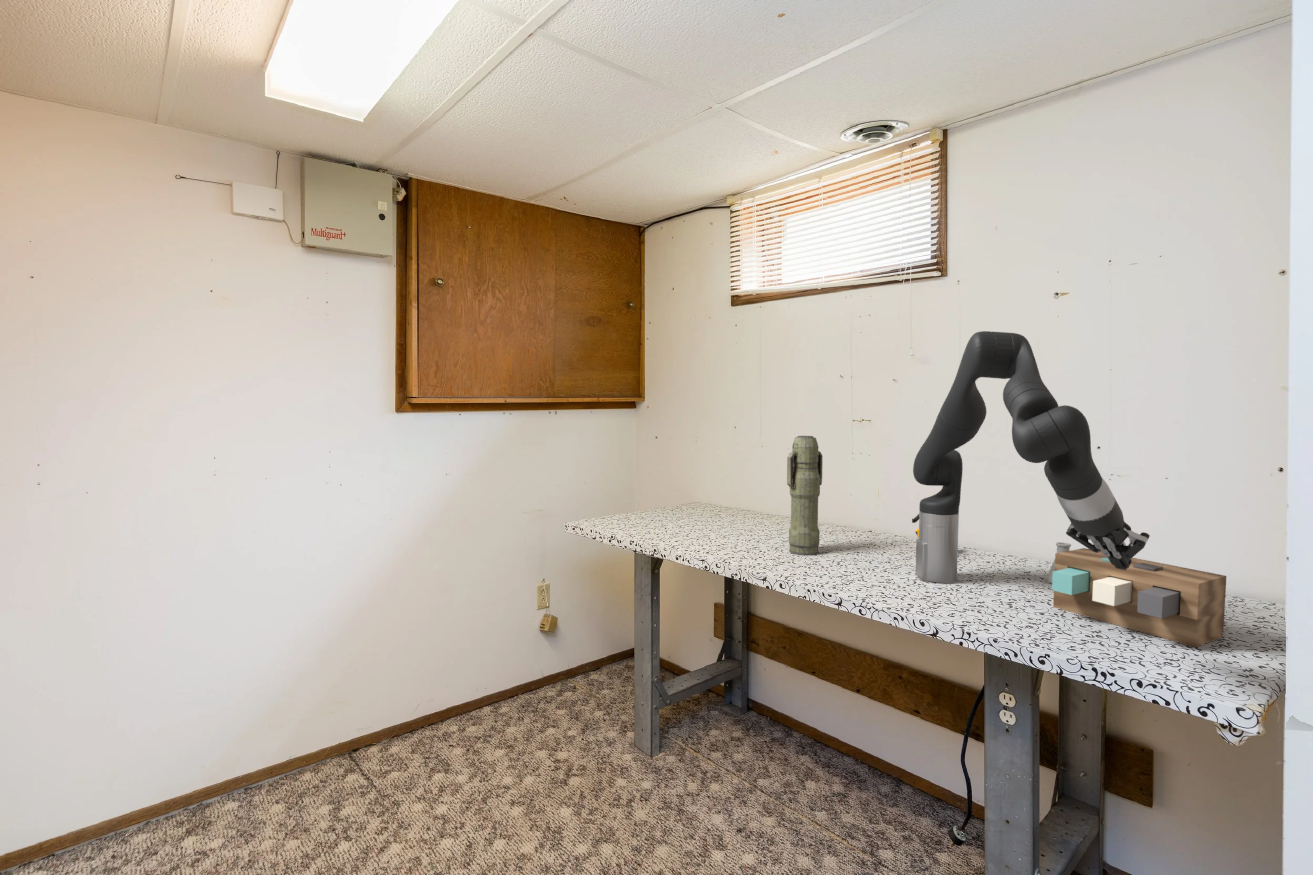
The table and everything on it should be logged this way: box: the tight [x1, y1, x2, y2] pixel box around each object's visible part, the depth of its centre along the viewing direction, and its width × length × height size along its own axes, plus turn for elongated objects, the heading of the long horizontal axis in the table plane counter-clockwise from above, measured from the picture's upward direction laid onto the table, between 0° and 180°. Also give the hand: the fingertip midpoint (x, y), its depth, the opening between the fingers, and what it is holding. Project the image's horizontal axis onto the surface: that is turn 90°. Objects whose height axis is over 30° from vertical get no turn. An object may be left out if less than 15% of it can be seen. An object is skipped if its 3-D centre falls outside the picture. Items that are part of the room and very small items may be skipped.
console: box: [1052, 547, 1227, 648], centre depth 132 cm, size 11×26×12 cm, turn 28°
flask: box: [1044, 541, 1072, 584], centre depth 160 cm, size 7×7×10 cm
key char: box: [1137, 586, 1181, 619], centre depth 122 cm, size 10×4×4 cm, turn 118°
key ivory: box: [1092, 576, 1133, 606], centre depth 129 cm, size 10×4×4 cm, turn 118°
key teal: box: [1051, 567, 1090, 595], centre depth 136 cm, size 10×4×4 cm, turn 118°
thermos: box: [786, 435, 823, 556], centre depth 191 cm, size 9×12×35 cm
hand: (1123, 565), depth 114 cm, fingers closed
